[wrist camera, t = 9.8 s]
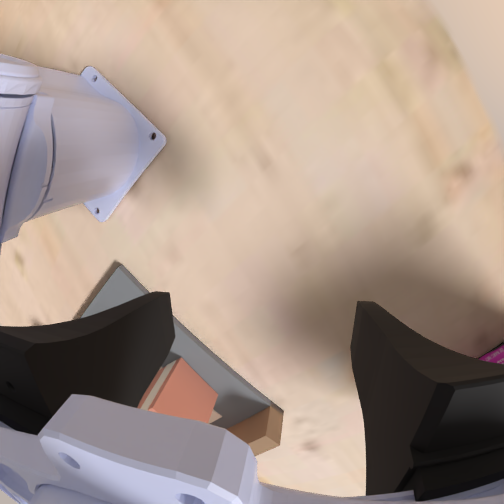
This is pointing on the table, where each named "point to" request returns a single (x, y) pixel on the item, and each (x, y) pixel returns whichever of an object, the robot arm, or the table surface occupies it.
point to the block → (179, 393)
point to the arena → (207, 373)
